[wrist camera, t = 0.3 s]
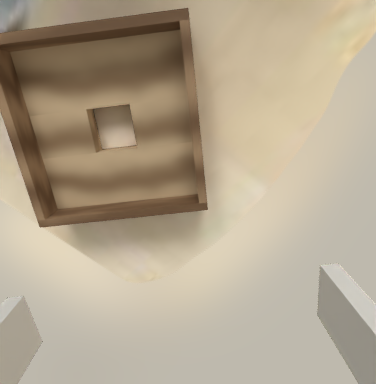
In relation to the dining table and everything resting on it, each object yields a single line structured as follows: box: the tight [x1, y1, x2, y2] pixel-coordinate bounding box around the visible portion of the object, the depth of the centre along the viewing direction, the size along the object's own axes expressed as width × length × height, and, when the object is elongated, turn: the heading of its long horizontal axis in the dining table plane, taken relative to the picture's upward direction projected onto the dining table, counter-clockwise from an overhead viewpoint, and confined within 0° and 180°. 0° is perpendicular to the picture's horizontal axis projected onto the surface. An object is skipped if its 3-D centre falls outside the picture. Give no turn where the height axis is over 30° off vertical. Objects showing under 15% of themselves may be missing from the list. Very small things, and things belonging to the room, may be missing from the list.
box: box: [0, 8, 208, 227], centre depth 33 cm, size 22×22×6 cm
